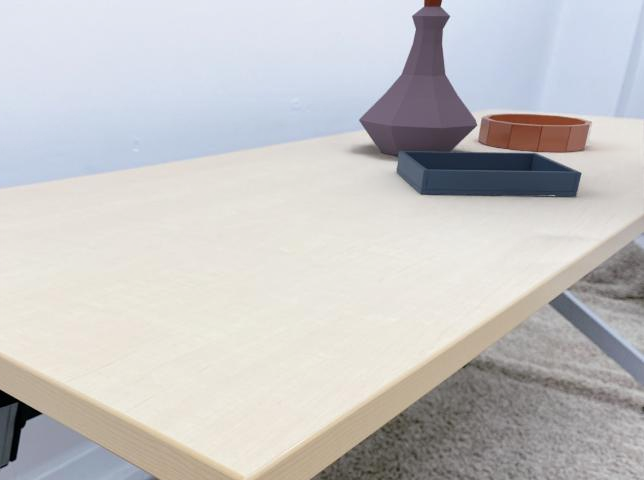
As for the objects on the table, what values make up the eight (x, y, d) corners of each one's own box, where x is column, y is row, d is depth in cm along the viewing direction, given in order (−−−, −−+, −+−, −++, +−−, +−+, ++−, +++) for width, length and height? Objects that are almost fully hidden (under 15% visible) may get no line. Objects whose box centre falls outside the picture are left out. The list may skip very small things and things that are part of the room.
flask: (494, 151, 99) (521, -7, 91) (447, 167, 88) (474, -12, 80) (386, 139, 109) (402, -5, 101) (331, 152, 98) (344, -9, 89)
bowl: (560, 137, 112) (565, 114, 111) (604, 152, 99) (610, 126, 97) (467, 135, 113) (470, 113, 111) (498, 151, 99) (503, 125, 98)
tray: (531, 174, 84) (536, 152, 83) (576, 196, 73) (581, 172, 72) (396, 172, 85) (398, 150, 84) (420, 194, 74) (423, 170, 73)
